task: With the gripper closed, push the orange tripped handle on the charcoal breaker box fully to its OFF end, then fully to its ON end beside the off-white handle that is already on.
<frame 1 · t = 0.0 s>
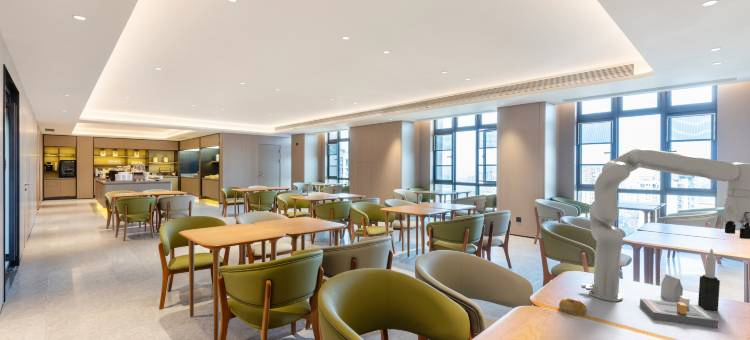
hand: (737, 235, 148), 31 cm above the table, tool pointing down, fingers open, 9 cm apart
breaker handle: (681, 308, 140), point 5 cm above the table, slide at 0.0 cm
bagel: (572, 311, 148), on the table
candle: (707, 309, 152), on the table
breaker panel: (676, 316, 144), on the table
tea bag: (671, 299, 162), on the table
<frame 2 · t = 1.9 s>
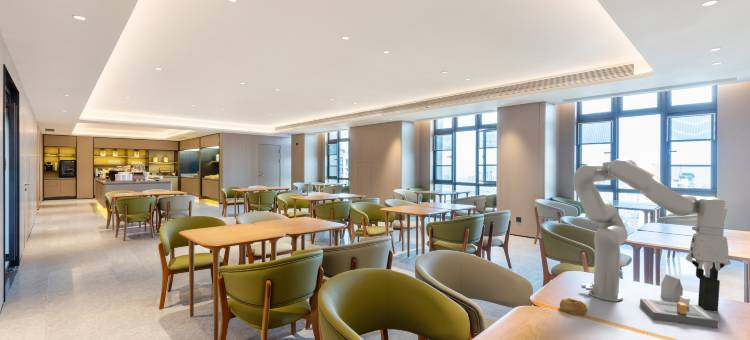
hand: (706, 278, 137), 17 cm above the table, tool pointing down, fingers open, 3 cm apart
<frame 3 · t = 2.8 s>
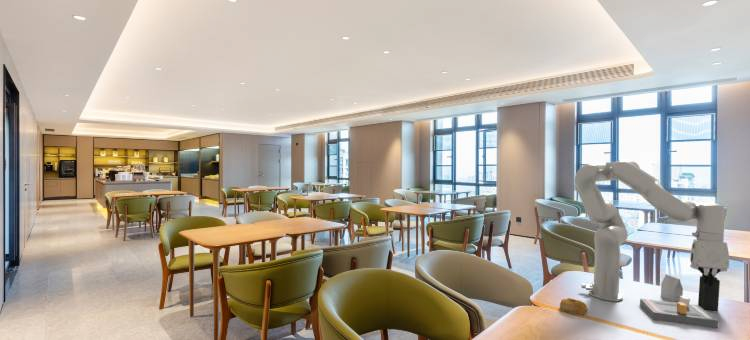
hand: (707, 285, 137), 15 cm above the table, tool pointing down, fingers closed
nothing on the table moved.
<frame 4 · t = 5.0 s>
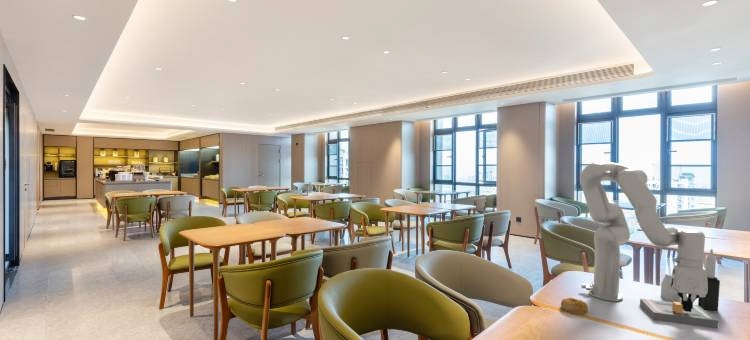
hand: (686, 310, 140), 4 cm above the table, tool pointing down, fingers closed
breaker handle: (677, 307, 141), point 5 cm above the table, slide at -1.4 cm, touching gripper
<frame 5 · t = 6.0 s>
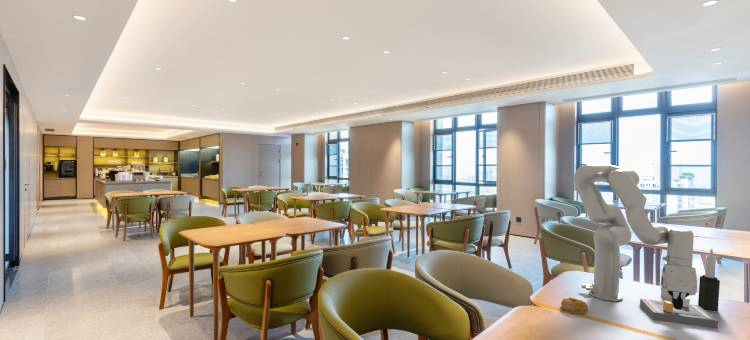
hand: (677, 308, 141), 5 cm above the table, tool pointing down, fingers closed
breaker handle: (668, 306, 142), point 5 cm above the table, slide at -4.4 cm, touching gripper
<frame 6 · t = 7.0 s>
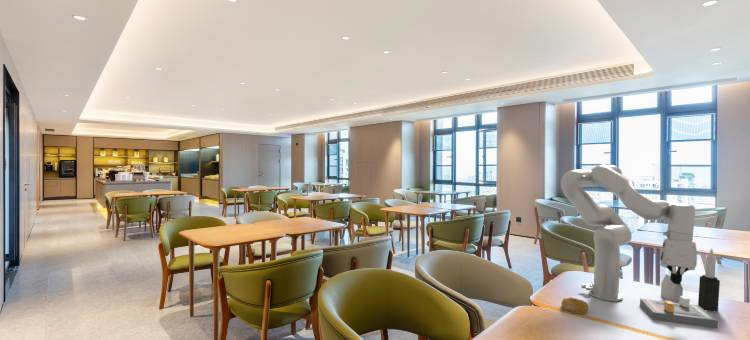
hand: (675, 283, 141), 14 cm above the table, tool pointing down, fingers closed
breaker handle: (669, 306, 141), point 5 cm above the table, slide at -4.1 cm
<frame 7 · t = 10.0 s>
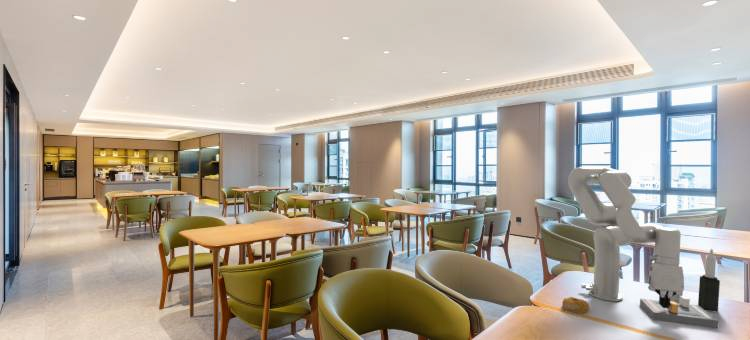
hand: (664, 306, 142), 5 cm above the table, tool pointing down, fingers closed
breaker handle: (673, 306, 141), point 5 cm above the table, slide at -2.8 cm, touching gripper
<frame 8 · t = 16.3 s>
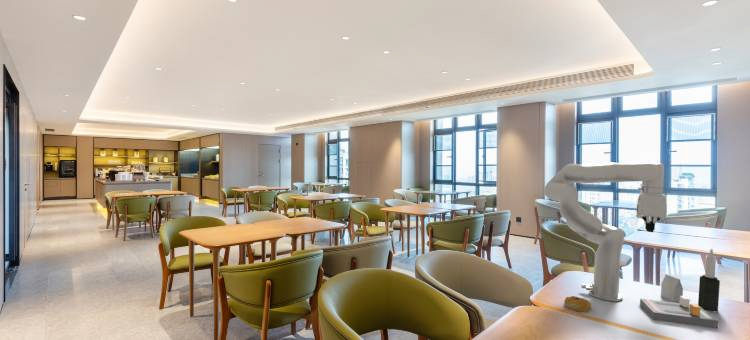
hand: (649, 231, 164), 29 cm above the table, tool pointing down, fingers closed
breaker handle: (694, 309, 139), point 5 cm above the table, slide at 4.1 cm
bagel: (577, 308, 151), on the table
everything else where it was.
at the end: breaker handle slide at 4.1 cm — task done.
